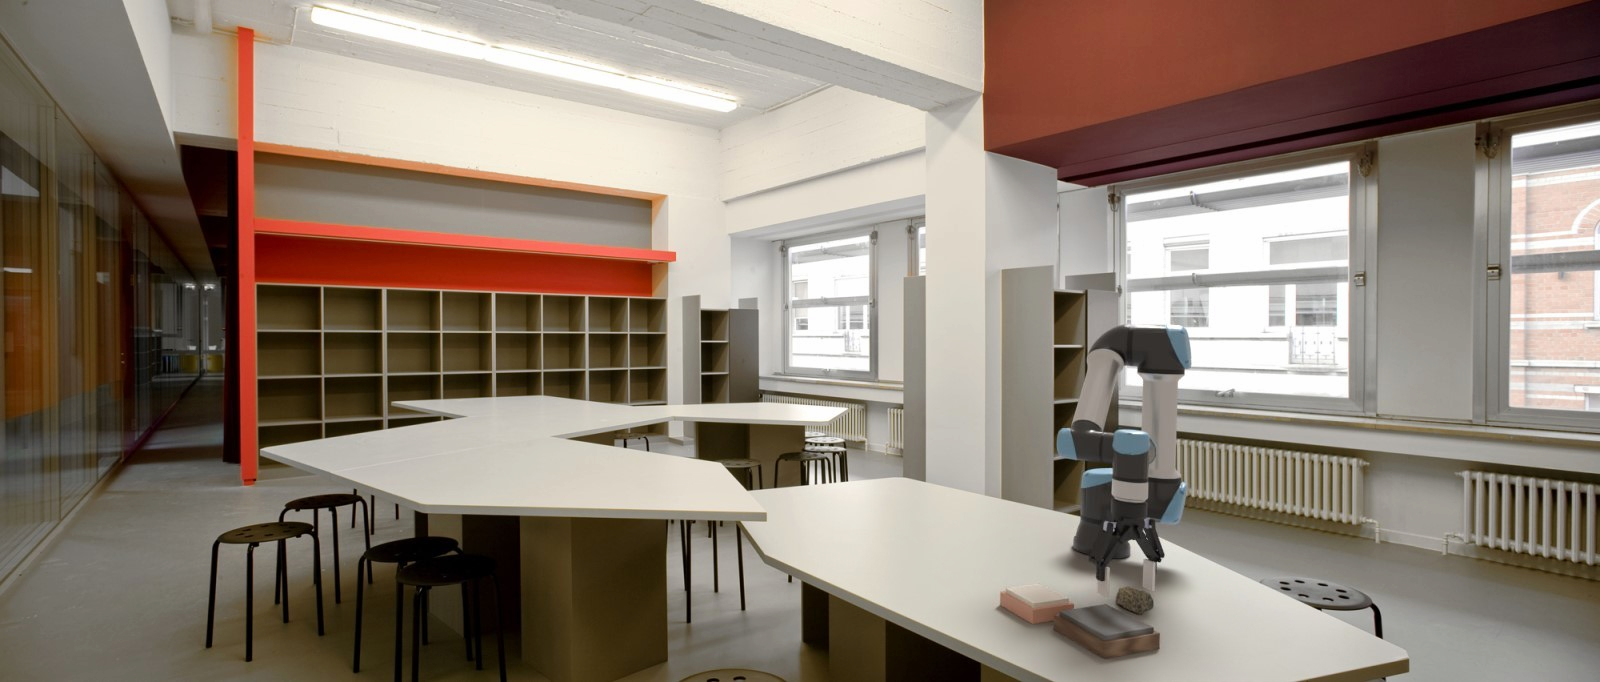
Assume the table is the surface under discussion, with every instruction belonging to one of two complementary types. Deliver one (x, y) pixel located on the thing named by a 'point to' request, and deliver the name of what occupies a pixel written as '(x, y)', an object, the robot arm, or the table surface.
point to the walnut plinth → (1106, 631)
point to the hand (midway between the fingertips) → (1126, 591)
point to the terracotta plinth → (1034, 602)
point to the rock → (1134, 599)
